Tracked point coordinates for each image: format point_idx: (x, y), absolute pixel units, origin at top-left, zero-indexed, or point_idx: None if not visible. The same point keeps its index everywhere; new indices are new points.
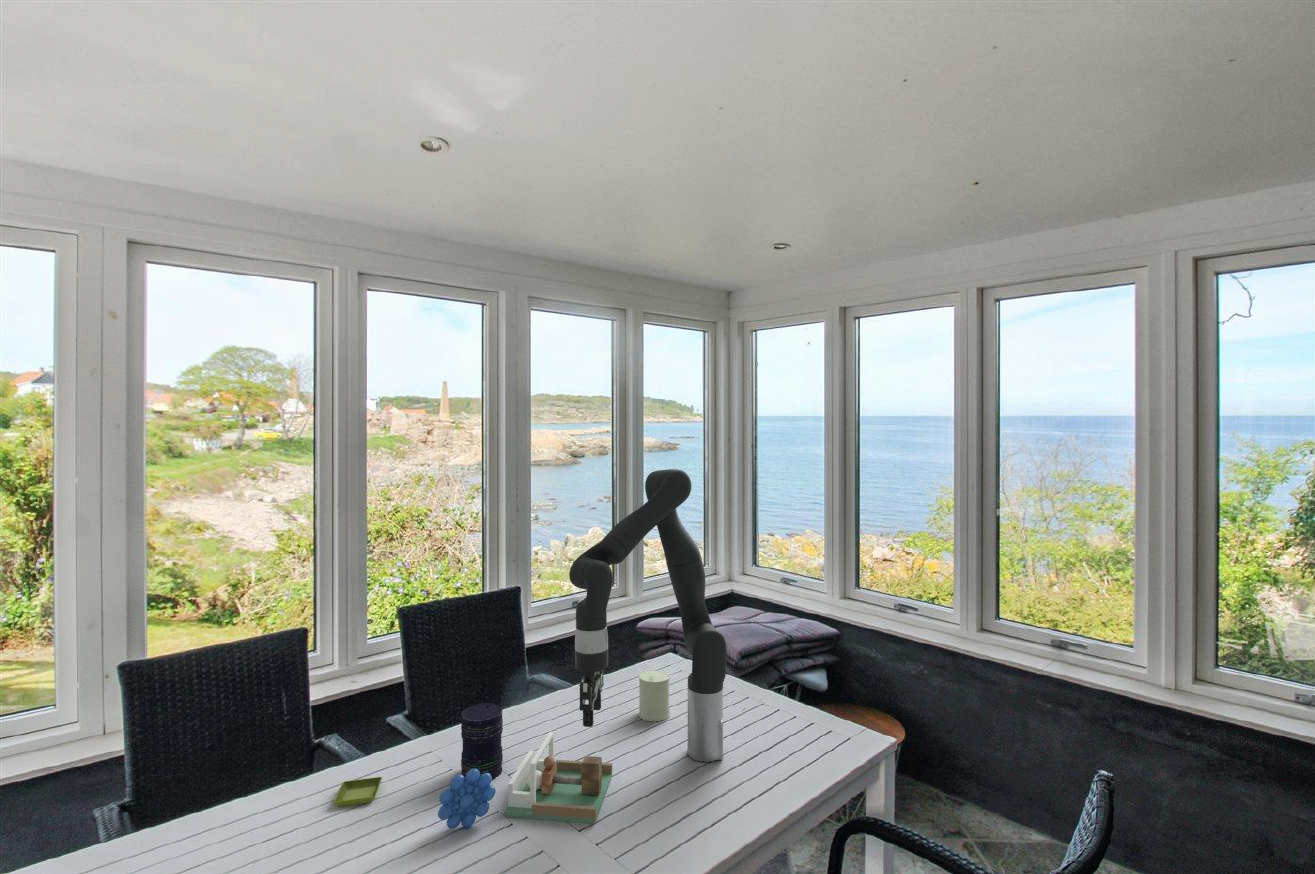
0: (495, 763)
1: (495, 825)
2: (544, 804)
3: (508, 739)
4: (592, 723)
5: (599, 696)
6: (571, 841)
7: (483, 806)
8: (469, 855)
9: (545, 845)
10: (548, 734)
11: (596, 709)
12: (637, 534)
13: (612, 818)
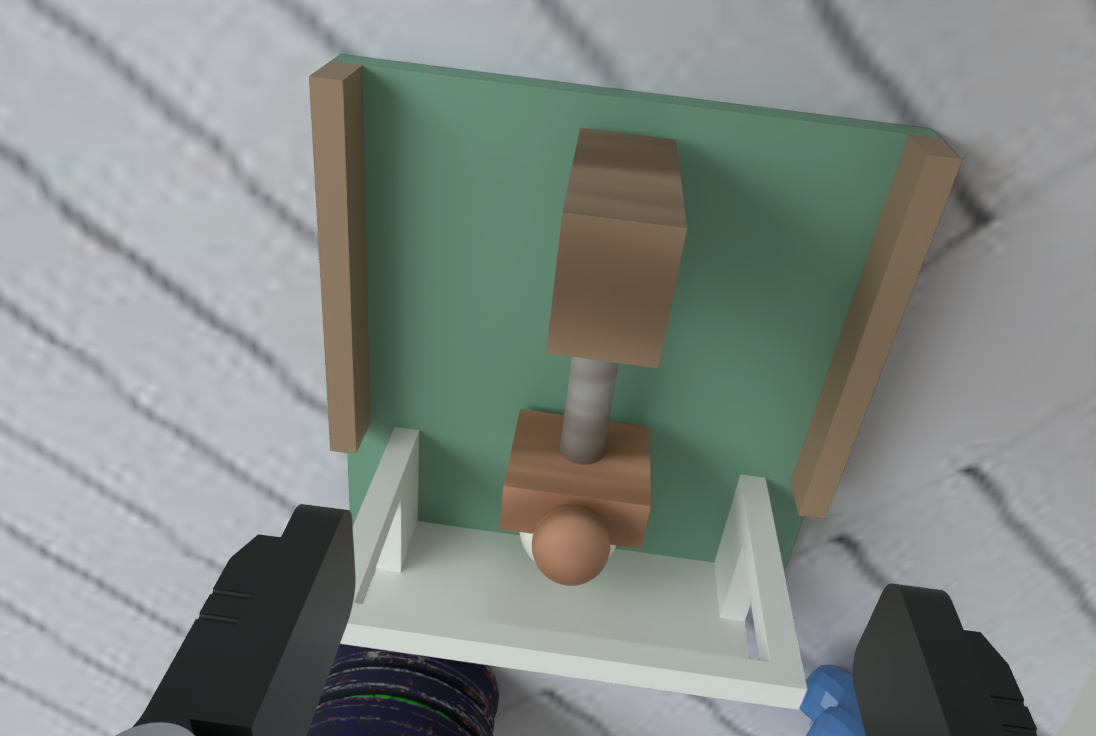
0: (437, 700)
1: (839, 593)
2: (831, 460)
3: (97, 634)
4: (955, 620)
5: (269, 699)
6: (1081, 255)
7: (859, 710)
8: (1042, 645)
9: (1072, 381)
10: (365, 644)
11: (349, 549)
12: None
13: (894, 8)
